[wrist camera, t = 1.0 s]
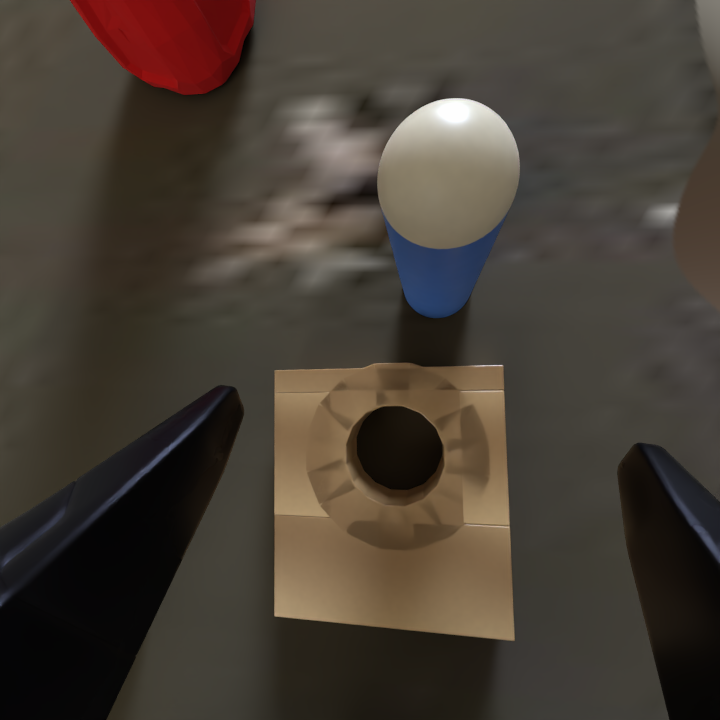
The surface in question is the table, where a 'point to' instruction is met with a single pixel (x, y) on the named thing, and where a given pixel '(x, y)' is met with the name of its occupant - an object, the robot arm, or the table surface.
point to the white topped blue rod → (446, 199)
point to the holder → (393, 504)
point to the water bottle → (172, 38)
